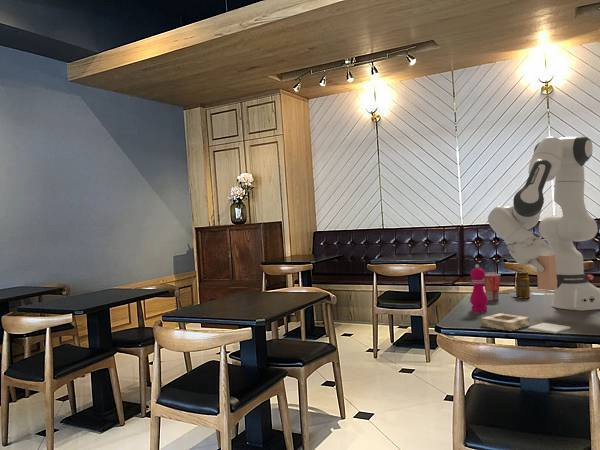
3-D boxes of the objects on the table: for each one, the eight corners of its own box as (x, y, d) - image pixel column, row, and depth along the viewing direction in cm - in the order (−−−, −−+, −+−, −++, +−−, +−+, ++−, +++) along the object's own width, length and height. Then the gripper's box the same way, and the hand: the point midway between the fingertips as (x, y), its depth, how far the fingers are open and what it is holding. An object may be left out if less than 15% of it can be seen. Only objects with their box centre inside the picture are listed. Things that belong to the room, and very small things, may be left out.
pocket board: (500, 320, 192) (500, 313, 192) (529, 325, 182) (529, 317, 182) (481, 326, 185) (481, 318, 185) (510, 331, 175) (510, 322, 175)
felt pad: (543, 324, 183) (543, 322, 183) (570, 328, 175) (570, 326, 175) (528, 328, 177) (528, 327, 177) (555, 333, 169) (555, 331, 169)
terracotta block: (544, 287, 179) (543, 254, 179) (557, 288, 175) (555, 254, 175) (538, 289, 176) (536, 255, 176) (550, 290, 173) (548, 256, 172)
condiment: (533, 296, 238) (532, 271, 238) (526, 299, 232) (525, 273, 232) (518, 295, 243) (516, 271, 243) (510, 298, 237) (509, 273, 237)
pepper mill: (489, 312, 208) (487, 265, 208) (471, 312, 210) (469, 265, 210) (486, 308, 216) (484, 263, 215) (469, 309, 217) (467, 263, 217)
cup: (500, 297, 240) (499, 272, 240) (503, 300, 232) (502, 275, 231) (480, 297, 242) (479, 273, 242) (482, 301, 234) (481, 275, 233)
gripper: (510, 237, 175) (537, 266, 167) (541, 233, 187) (569, 260, 179) (499, 250, 179) (526, 278, 171) (531, 245, 190) (557, 272, 183)
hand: (548, 269), depth 175 cm, fingers closed on terracotta block, 4 cm apart
